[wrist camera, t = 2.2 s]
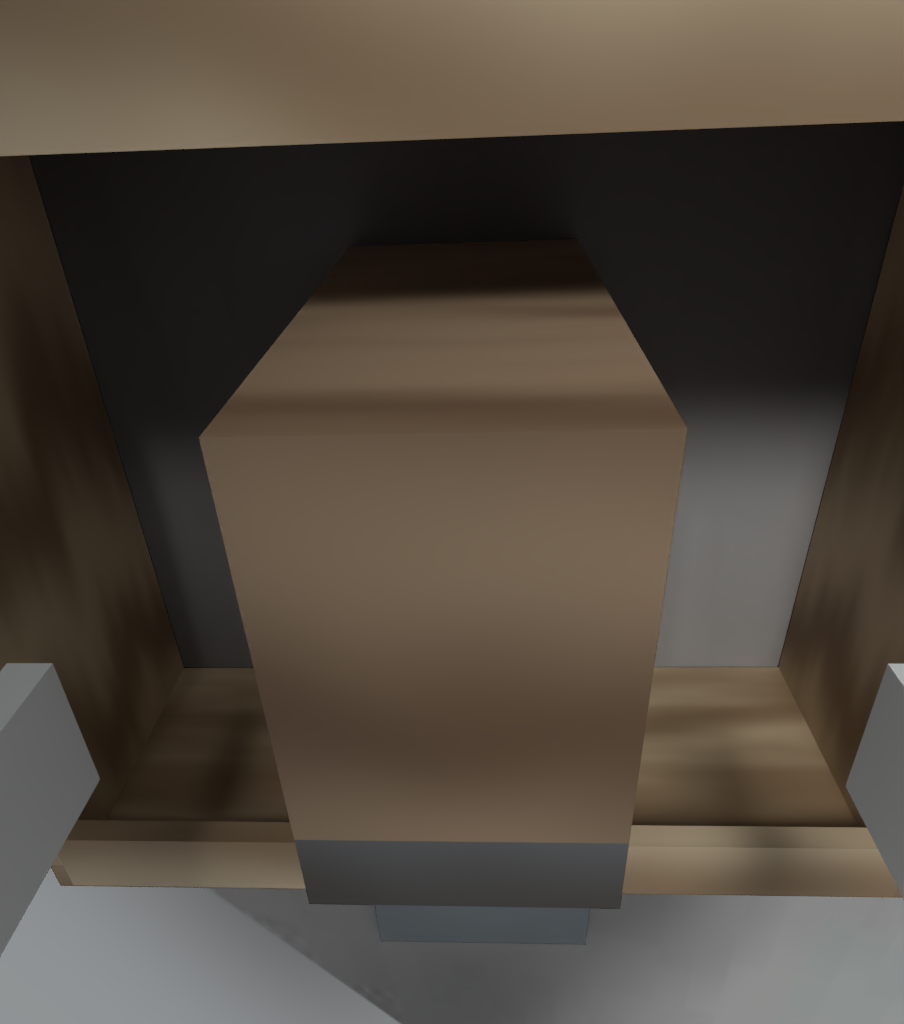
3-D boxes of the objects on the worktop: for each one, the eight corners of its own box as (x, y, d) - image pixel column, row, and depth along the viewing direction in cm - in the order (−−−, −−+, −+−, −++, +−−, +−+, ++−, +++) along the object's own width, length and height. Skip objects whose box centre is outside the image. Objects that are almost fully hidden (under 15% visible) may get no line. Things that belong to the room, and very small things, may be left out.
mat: (348, 715, 28) (346, 725, 28) (606, 715, 28) (608, 726, 27) (381, 930, 36) (380, 940, 36) (584, 934, 36) (585, 944, 35)
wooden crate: (-149, -10, 17) (-646, -79, 9) (1115, -76, 15) (1699, -216, 8) (114, 687, 28) (-18, 904, 21) (856, 687, 27) (999, 920, 19)
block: (350, 246, 19) (199, 437, 9) (577, 239, 19) (687, 428, 9) (382, 556, 24) (309, 903, 14) (561, 554, 24) (619, 908, 14)
